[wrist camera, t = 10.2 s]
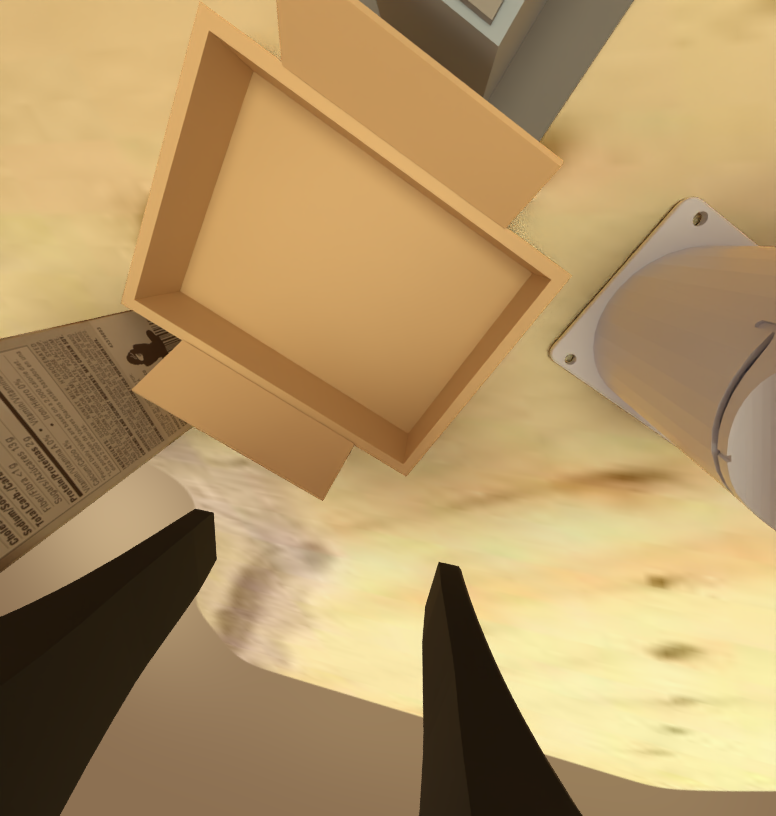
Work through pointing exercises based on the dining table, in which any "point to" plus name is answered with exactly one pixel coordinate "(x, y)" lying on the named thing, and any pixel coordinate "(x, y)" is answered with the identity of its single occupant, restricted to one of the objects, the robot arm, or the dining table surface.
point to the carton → (333, 243)
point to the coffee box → (75, 420)
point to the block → (465, 34)
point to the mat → (551, 59)
